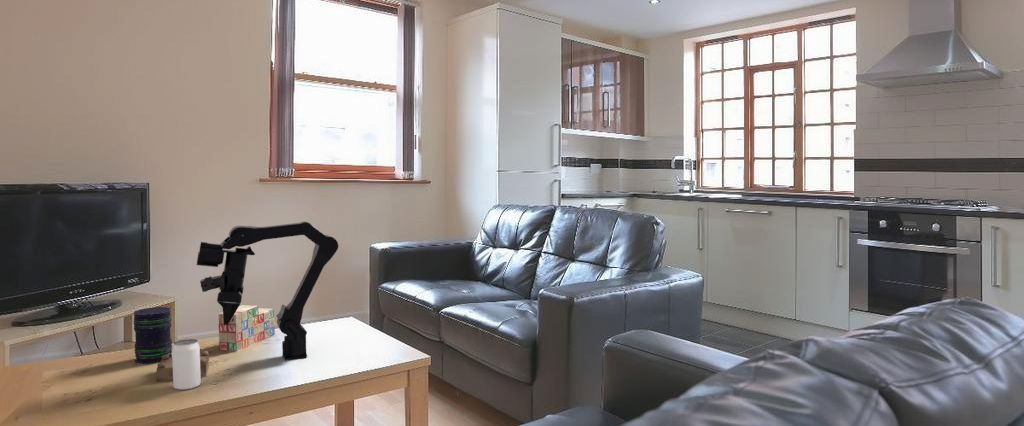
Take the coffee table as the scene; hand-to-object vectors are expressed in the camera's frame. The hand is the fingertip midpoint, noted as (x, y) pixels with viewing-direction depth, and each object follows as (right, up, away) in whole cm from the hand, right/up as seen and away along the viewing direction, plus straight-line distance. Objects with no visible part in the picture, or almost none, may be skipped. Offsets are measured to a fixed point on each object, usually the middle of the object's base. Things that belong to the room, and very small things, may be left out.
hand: (226, 321), depth 183 cm
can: (-3, -14, -17) cm, 23 cm away
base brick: (-9, -13, -7) cm, 18 cm away
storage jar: (-25, -13, +6) cm, 29 cm away
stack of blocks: (-4, -12, +25) cm, 28 cm away
